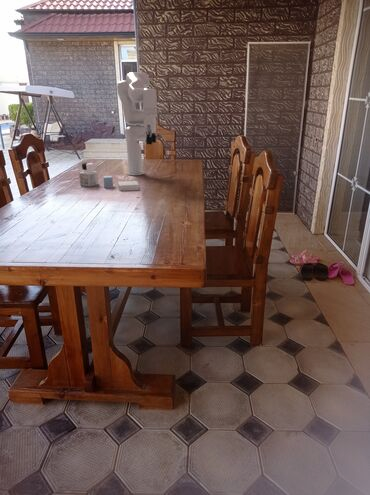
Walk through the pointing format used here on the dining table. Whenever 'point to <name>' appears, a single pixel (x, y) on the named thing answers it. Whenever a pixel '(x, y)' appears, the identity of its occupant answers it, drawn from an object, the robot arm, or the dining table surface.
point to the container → (88, 175)
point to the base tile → (128, 185)
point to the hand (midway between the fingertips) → (151, 143)
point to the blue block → (108, 181)
